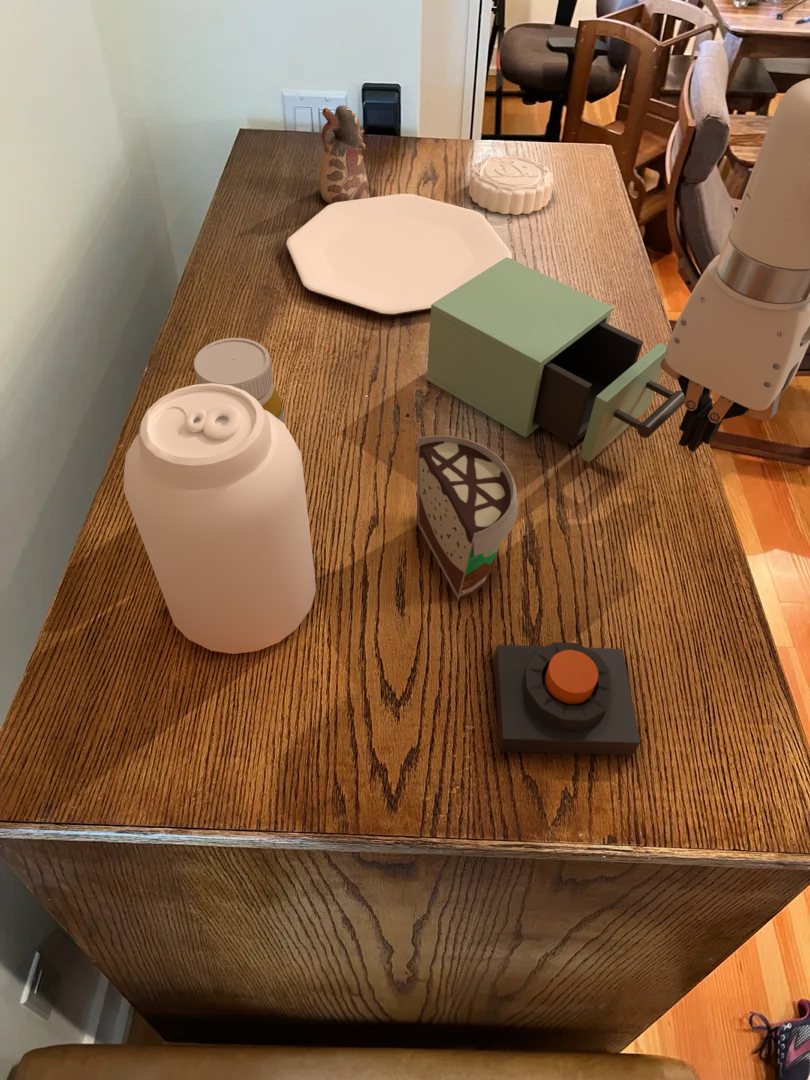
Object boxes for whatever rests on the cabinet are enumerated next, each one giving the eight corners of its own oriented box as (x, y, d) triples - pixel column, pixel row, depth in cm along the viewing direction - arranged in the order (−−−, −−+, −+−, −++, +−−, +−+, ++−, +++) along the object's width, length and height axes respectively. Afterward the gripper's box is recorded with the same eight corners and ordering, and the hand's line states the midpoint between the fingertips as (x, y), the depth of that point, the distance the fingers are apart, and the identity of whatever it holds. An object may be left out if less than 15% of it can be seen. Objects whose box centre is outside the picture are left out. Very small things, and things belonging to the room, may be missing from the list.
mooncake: (542, 175, 116) (545, 151, 114) (557, 215, 109) (562, 190, 106) (463, 176, 116) (465, 152, 113) (474, 216, 108) (476, 191, 105)
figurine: (373, 204, 110) (373, 115, 100) (324, 209, 108) (319, 119, 99) (364, 181, 114) (362, 94, 105) (316, 185, 113) (310, 97, 103)
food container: (530, 593, 67) (549, 517, 59) (465, 614, 65) (477, 539, 57) (470, 495, 74) (481, 417, 66) (411, 512, 72) (415, 433, 65)
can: (321, 540, 70) (305, 360, 55) (311, 659, 62) (288, 489, 47) (183, 538, 70) (127, 357, 54) (155, 657, 62) (80, 486, 46)
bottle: (211, 471, 75) (180, 343, 64) (281, 454, 77) (263, 327, 65) (227, 522, 71) (197, 395, 59) (300, 503, 73) (285, 377, 61)
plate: (534, 237, 105) (536, 226, 104) (448, 344, 89) (449, 333, 88) (358, 189, 112) (358, 178, 111) (250, 280, 97) (249, 269, 95)
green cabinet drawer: (683, 426, 80) (707, 365, 74) (624, 483, 74) (646, 423, 68) (552, 357, 87) (565, 296, 81) (489, 405, 81) (498, 343, 75)
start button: (589, 662, 58) (594, 650, 57) (596, 705, 56) (601, 693, 55) (542, 660, 58) (546, 648, 57) (547, 703, 56) (551, 692, 55)
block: (616, 662, 62) (628, 636, 59) (632, 756, 57) (647, 732, 54) (493, 658, 62) (499, 632, 59) (499, 751, 57) (505, 727, 54)
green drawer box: (593, 382, 85) (613, 306, 78) (525, 438, 79) (540, 362, 72) (496, 331, 91) (506, 256, 84) (426, 379, 85) (430, 304, 77)
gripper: (885, 284, 57) (784, 459, 72) (706, 212, 63) (645, 387, 78) (846, 327, 54) (747, 503, 68) (659, 246, 60) (605, 423, 74)
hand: (693, 440), depth 73 cm, fingers closed
